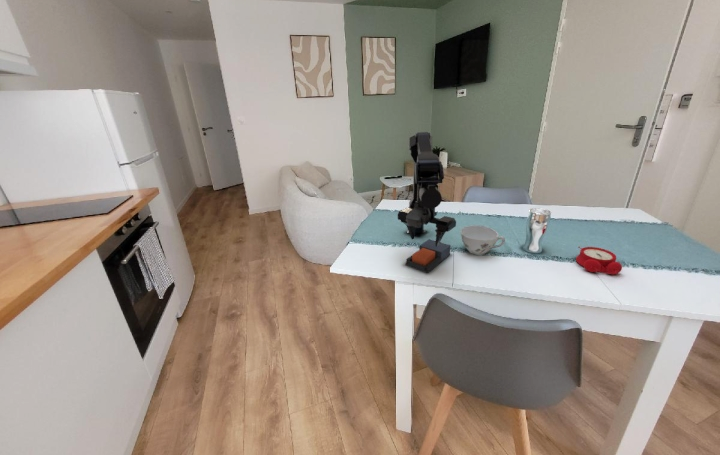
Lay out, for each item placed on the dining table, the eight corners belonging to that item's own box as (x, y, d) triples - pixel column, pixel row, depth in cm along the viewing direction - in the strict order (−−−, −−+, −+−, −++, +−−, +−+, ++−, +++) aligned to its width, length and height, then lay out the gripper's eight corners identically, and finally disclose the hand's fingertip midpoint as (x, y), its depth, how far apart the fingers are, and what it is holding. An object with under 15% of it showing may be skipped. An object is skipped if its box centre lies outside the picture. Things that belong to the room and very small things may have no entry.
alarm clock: (609, 247, 98) (633, 259, 84) (605, 265, 99) (629, 279, 85) (573, 244, 101) (590, 255, 87) (570, 261, 102) (586, 274, 88)
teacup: (459, 257, 104) (460, 237, 100) (458, 242, 115) (460, 224, 111) (505, 262, 99) (508, 241, 96) (500, 246, 110) (503, 226, 107)
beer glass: (537, 245, 110) (545, 207, 104) (547, 253, 103) (556, 214, 97) (518, 245, 110) (525, 207, 104) (526, 253, 104) (534, 214, 98)
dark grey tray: (428, 248, 111) (428, 239, 110) (449, 255, 106) (450, 245, 104) (405, 265, 101) (405, 254, 99) (427, 273, 95) (428, 262, 94)
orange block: (422, 256, 105) (422, 247, 103) (434, 260, 102) (435, 251, 100) (411, 264, 100) (412, 255, 99) (424, 268, 97) (424, 259, 96)
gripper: (387, 199, 92) (387, 243, 98) (441, 210, 80) (437, 260, 87) (407, 191, 100) (406, 232, 106) (458, 200, 88) (454, 246, 94)
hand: (424, 242), depth 98 cm, fingers open, 9 cm apart
